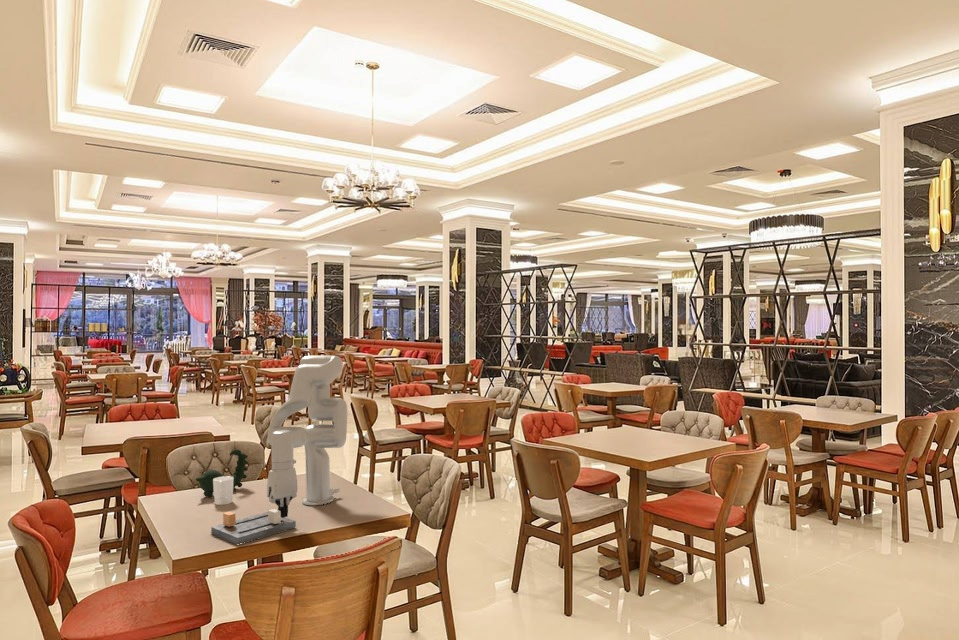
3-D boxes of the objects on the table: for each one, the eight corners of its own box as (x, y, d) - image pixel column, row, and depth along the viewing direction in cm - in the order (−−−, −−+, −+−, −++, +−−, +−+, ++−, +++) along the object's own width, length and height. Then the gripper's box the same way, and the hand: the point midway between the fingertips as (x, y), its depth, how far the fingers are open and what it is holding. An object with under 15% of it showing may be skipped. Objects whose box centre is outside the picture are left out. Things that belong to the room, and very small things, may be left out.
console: (268, 518, 234) (268, 511, 234) (295, 528, 222) (295, 520, 222) (211, 534, 217) (211, 526, 217) (237, 545, 205) (237, 537, 205)
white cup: (237, 500, 259) (237, 476, 259) (227, 505, 251) (227, 481, 251) (219, 499, 260) (219, 476, 260) (209, 505, 252) (209, 480, 252)
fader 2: (274, 523, 222) (274, 508, 222) (280, 525, 220) (280, 510, 220) (268, 524, 220) (268, 510, 220) (274, 527, 218) (274, 512, 218)
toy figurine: (236, 489, 283) (187, 498, 261) (238, 447, 284) (190, 452, 263) (250, 491, 278) (201, 501, 257) (253, 449, 280) (204, 454, 258)
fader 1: (229, 525, 220) (229, 511, 220) (235, 528, 217) (235, 513, 217) (223, 527, 218) (223, 513, 218) (229, 529, 216) (228, 515, 216)
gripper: (294, 460, 231) (295, 509, 231) (257, 467, 219) (258, 519, 219) (306, 463, 226) (307, 513, 226) (269, 470, 215) (270, 523, 214)
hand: (283, 516), depth 223 cm, fingers closed
